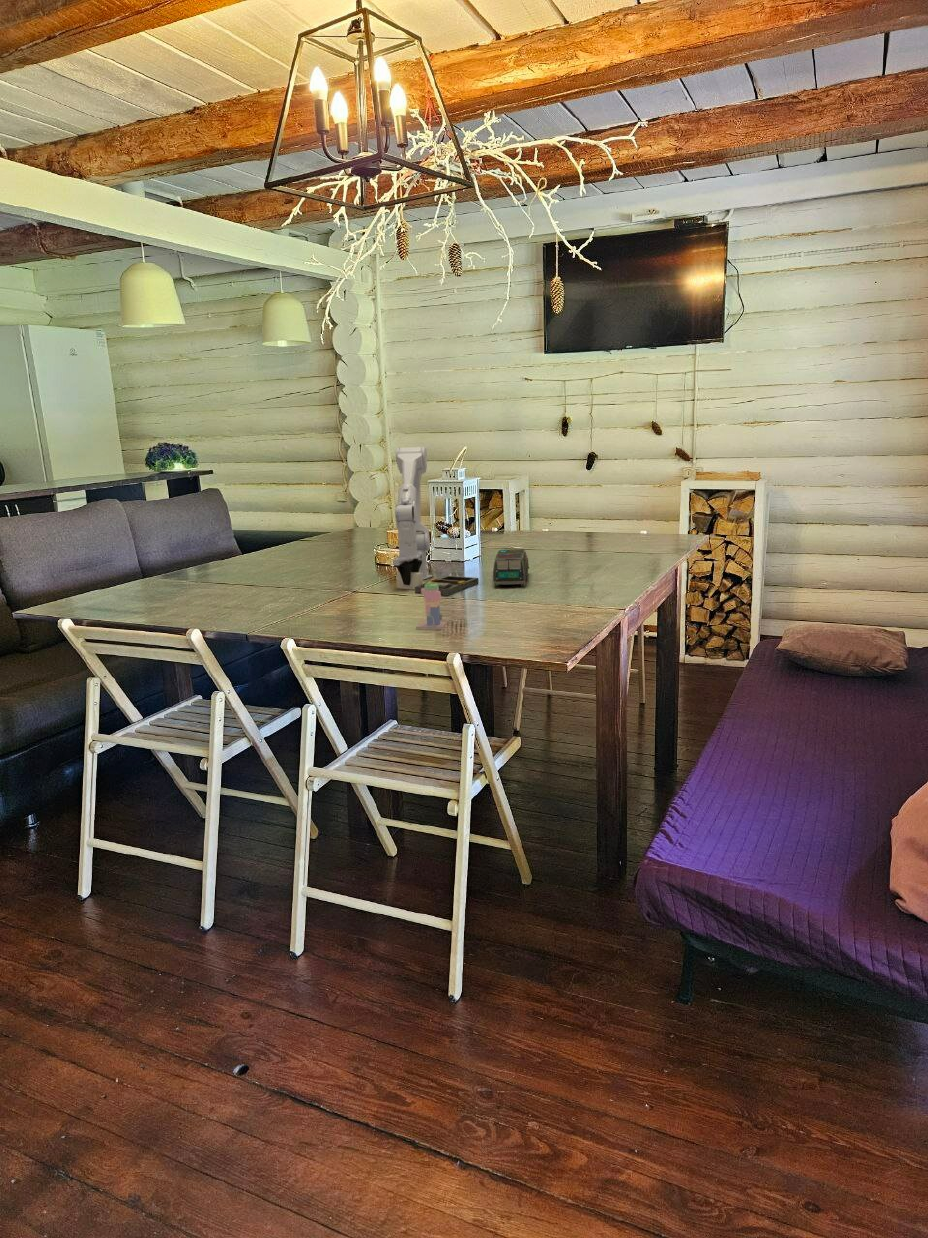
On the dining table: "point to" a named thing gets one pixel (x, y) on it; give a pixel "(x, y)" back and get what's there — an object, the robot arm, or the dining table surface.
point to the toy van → (510, 567)
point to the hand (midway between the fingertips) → (410, 583)
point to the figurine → (432, 608)
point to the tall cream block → (415, 581)
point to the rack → (450, 584)
